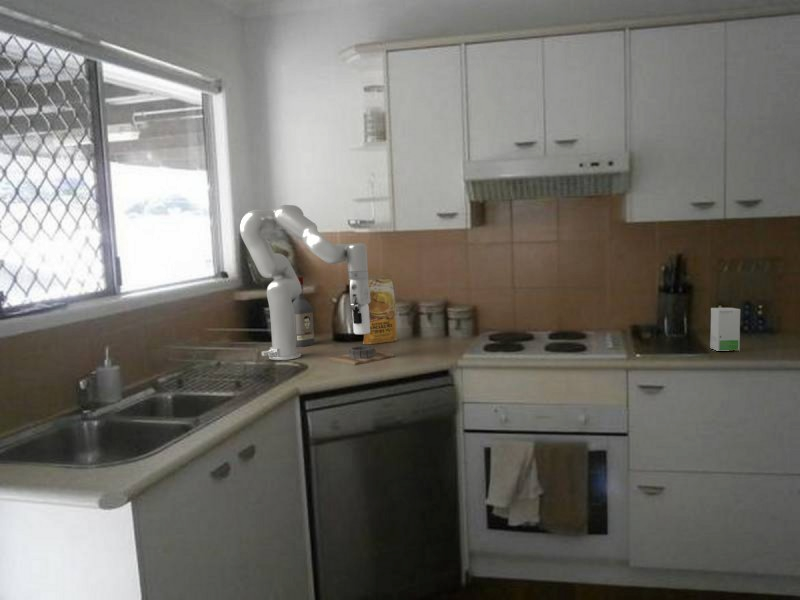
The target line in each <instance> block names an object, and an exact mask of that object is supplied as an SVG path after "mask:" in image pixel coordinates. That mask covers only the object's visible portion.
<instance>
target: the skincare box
mask: <svg viewBox="0 0 800 600" xmlns="http://www.w3.org/2000/svg"><path fill="white" fill-rule="evenodd" d="M740 329H741V309H740V308H735V307H711V308H710V339H709V340H710V341H709V347H710V348H711V349H714V350H716V351H729V350H739V351H740V345H741V344H740V343H741V341H740V339H741V334H740V333H741V330H740ZM711 349H710V350H711ZM714 350H713V351H714ZM716 351H715V352H716Z"/></svg>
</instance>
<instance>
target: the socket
mask: <svg viewBox="0 0 800 600" xmlns="http://www.w3.org/2000/svg"><path fill="white" fill-rule="evenodd" d="M393 356H395V357H396V354H393V353H389V352H384V351H377V350H376V348H375V346H373V345H356V346H355V345H354V346H351V347H349V348H348V353H347V354H342V355H336V356H332V357H329V358H328V360H329V361H332V362H337V363H342V364H347V365H352V366H356V365H361V363H362V364H365V363H366V362H367V363H371V362H375V361H374V360H376V361H380V360H379V359H381V360H385V359H389V358H388V357H390V358H394V357H393ZM384 358H385V359H384ZM370 361H371V362H370Z"/></svg>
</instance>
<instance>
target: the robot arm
mask: <svg viewBox="0 0 800 600" xmlns="http://www.w3.org/2000/svg"><path fill="white" fill-rule="evenodd" d="M281 229H285V230H286V231H287V232H289V233H290V234H292V235H293V236H294V237H296V239H297V240H298V239H299V240H300V241H301V242H302V243H303V244H304V245H305V247H306V248H307V249H308V250H309V251H310V252H311V253H312V254H313V255H315V256H317V257H318V258H319V259H321V260H322V261H324V262H325V263H326V264H330V265H338V264H344V263H347V274H348V281H349V300H350V301H349V302H350V306H351V311H352V310H353V311H352V312H353V315H352V322H353V321H354V324H361V323H362V317H361V313H360V310H361V306H364V305H366V304H369V303H370V302H371V300H370V290H369V283H368V279H369V269H368V256H367V253H368V252H367V245H366V244H365V243H349V244H348V243H345V244H344V243H334V244H333V243H332V242H331V241H329V240H328V239H327V238H325V237H324V236H323V235H322V234H321V233H320V232H319V231H318V226H317V224H316V223H314V222H313V221H312V220H310V218H307V217H306V216H305V215H304V212H303V210H302V209H301V207H300V206H297V205H296V204H295V205H293V204H283V205H280V206H278V207H277V208H272V209H253V210H249V211H247V212H246V213H245V214H244V216H242V219H241V221H240V224H239V233H240V236H241V240H242V241H243V243H244V245H245V247H246V248H247V250H248V252H249V255H250V257H251V259H252V260H253V262H254V265H255V267H256V269H257V271H258V273H259V274H260V276H262V277H263V278H266V279H273V280H272V281H271V282H269V284H268V285H267V288H266V297H267V298H266V299H267V302H268V308H269V316H270V317H269V318H270V319H269V321H270V331H271V346H270V347H269V349H268V350H263V351H261V356H263V357H266V356H268V359H269V360H272V361H286V360H294V359H298V358H301V356H302V354H301V352H299V351H297V347H296V332H295V317H294V308H293V304H292V303H293V301H294V300H295V299H296V298H297V297H298V296H299V295H300V293H301V285H300V282H299V280H298V278H297V277H298V276H297V274H296V271H295V269H294V268H293V266H292V264H291V261H290V260H289V259H288V258H287V257H286V256H285V255H284V254H282V253H277V252H276V253H275V252H274V250H273V248H272V247H271V245H270V242H269V241H268V239H267V238H266V237H265V236H264V234H263V233H262V232H271V231H276V230H281ZM355 304H359V305H355ZM357 307H358V308H357ZM352 312H351V313H352Z"/></svg>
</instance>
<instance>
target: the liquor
mask: <svg viewBox="0 0 800 600" xmlns="http://www.w3.org/2000/svg"><path fill="white" fill-rule="evenodd" d="M297 278H298V280H299V282H300V285H301V293H300V295H299V296H298V297H297V298H296V299H293V301H292V304H293V308H294V317H295V332H296V346H297V347H296V348H300V347H309V345H310V346H313V345H314V343H315V331H314V313H313V312H314V310H313V309H314V308H313V306H312V305H311V304H310V303H309V302H308V301H307V299H306V298H305V295H304V277H303V276H297Z"/></svg>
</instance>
